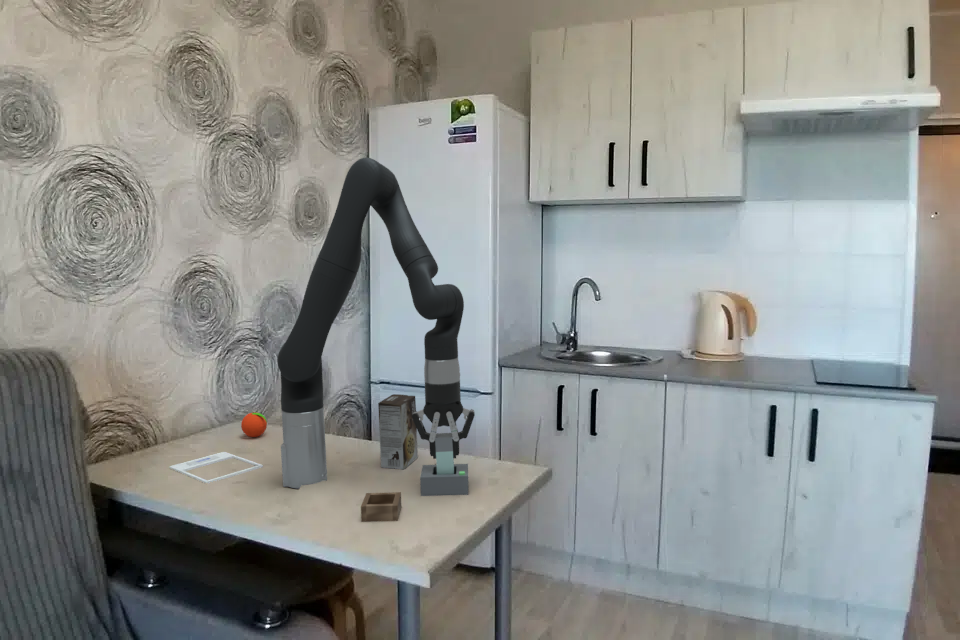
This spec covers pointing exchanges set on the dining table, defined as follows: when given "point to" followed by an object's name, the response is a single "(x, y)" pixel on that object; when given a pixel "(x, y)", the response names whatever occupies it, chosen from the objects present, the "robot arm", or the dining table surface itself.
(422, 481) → the port
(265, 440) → the dining table surface
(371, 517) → the wooden box
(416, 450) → the coffee box
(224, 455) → the photo frame
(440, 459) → the plug
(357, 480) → the dining table surface
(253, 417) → the clementine
